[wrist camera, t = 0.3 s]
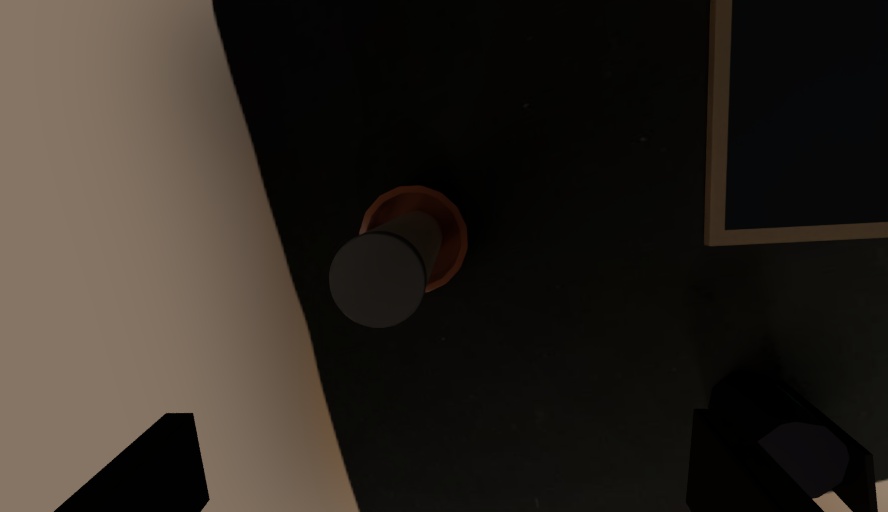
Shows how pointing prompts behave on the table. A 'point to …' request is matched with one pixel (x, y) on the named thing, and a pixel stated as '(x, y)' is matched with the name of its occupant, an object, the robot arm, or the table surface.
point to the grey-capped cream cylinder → (386, 269)
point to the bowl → (441, 209)
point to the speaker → (800, 438)
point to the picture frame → (796, 121)
